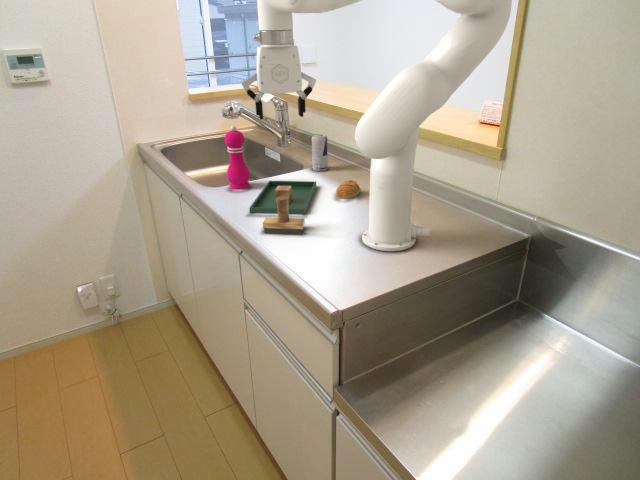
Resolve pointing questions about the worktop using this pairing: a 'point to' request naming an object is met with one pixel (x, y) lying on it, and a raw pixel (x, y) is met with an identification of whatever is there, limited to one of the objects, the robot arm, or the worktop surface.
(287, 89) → the robot arm
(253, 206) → the tray
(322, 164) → the energy drink
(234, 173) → the pepper mill
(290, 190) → the wooden cube
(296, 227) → the brush
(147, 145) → the worktop surface
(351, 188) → the pastry
